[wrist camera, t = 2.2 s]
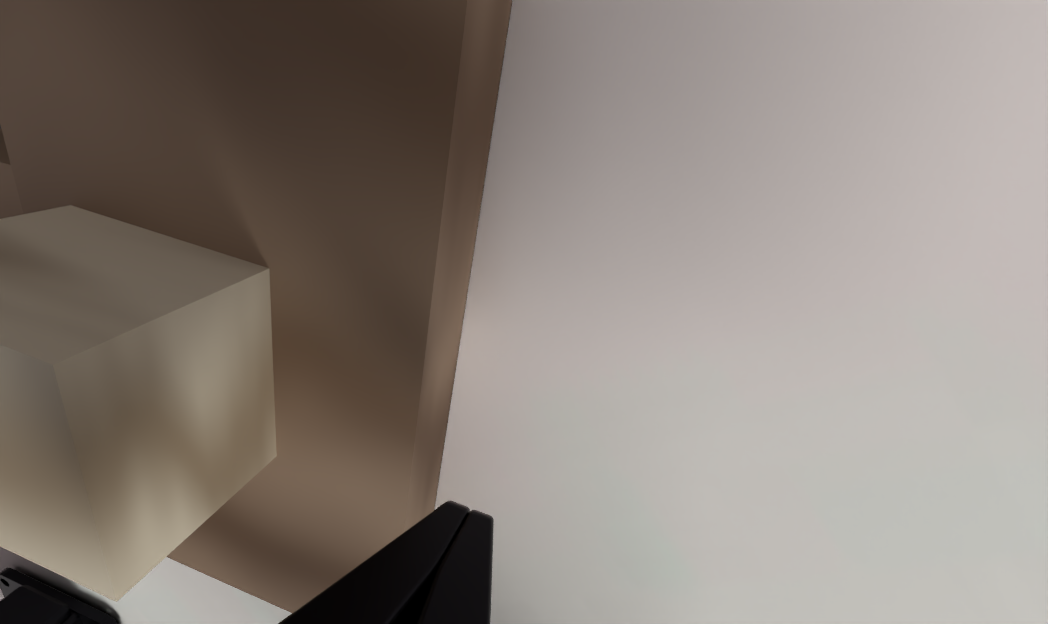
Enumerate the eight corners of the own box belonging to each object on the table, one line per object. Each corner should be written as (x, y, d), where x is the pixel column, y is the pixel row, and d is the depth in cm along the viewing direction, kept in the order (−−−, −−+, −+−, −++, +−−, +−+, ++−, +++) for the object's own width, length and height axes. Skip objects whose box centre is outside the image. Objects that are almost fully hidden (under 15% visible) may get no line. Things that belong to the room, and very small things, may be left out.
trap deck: (420, 595, 16) (389, 656, 15) (-92, 379, 20) (-166, 408, 18) (517, -35, 9) (475, -65, 7) (-336, -192, 13) (-504, -238, 11)
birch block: (276, 456, 13) (116, 601, 9) (110, 391, 13) (-95, 501, 10) (269, 268, 10) (53, 365, 7) (71, 205, 11) (-215, 261, 8)
